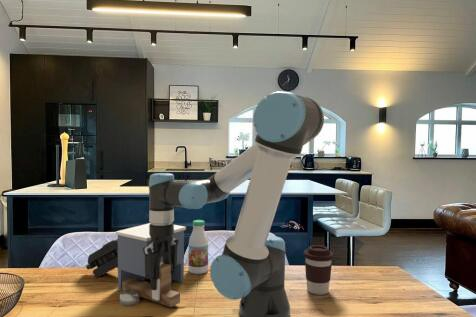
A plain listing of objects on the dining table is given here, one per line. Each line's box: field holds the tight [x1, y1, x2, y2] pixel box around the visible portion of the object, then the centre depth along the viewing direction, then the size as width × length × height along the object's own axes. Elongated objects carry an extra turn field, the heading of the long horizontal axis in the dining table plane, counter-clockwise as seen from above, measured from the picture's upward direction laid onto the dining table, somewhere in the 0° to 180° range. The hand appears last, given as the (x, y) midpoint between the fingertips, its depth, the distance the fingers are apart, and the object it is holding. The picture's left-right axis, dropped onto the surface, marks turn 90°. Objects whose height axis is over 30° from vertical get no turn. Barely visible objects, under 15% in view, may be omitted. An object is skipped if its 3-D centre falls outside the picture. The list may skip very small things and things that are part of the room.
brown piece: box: [121, 263, 181, 308], centre depth 115 cm, size 22×4×11 cm, turn 57°
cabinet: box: [115, 222, 187, 291], centre depth 126 cm, size 15×19×20 cm
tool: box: [85, 238, 118, 278], centre depth 135 cm, size 6×19×15 cm, turn 78°
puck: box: [119, 290, 141, 307], centre depth 113 cm, size 6×6×3 cm
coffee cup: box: [303, 244, 334, 296], centre depth 123 cm, size 10×10×15 cm
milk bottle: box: [187, 219, 209, 275], centre depth 140 cm, size 8×8×20 cm
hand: (161, 296), depth 112 cm, fingers closed on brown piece, 4 cm apart
